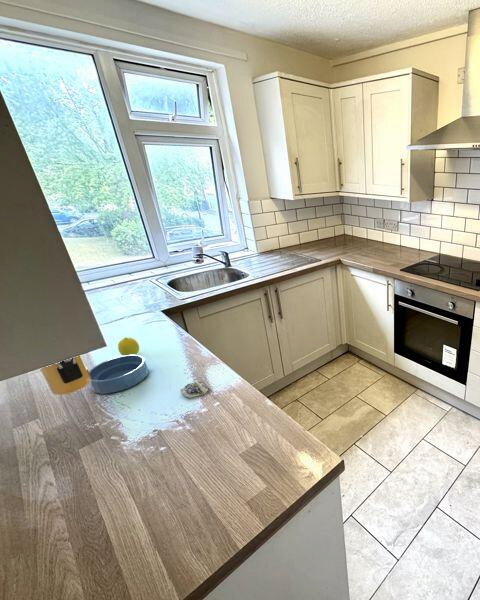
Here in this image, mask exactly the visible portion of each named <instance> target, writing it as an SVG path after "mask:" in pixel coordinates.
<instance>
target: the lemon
mask: <svg viewBox="0 0 480 600" xmlns="http://www.w3.org/2000/svg"><path fill="white" fill-rule="evenodd" d="M117 349H118V352H119V354H120V356H125V355H138V354H139V352H140V345H139V343H138V341H137V340H136V339H134V338H133V337H127V336H126V337H123V338H122V339H121V340H119V342H118V344H117Z"/></svg>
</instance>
